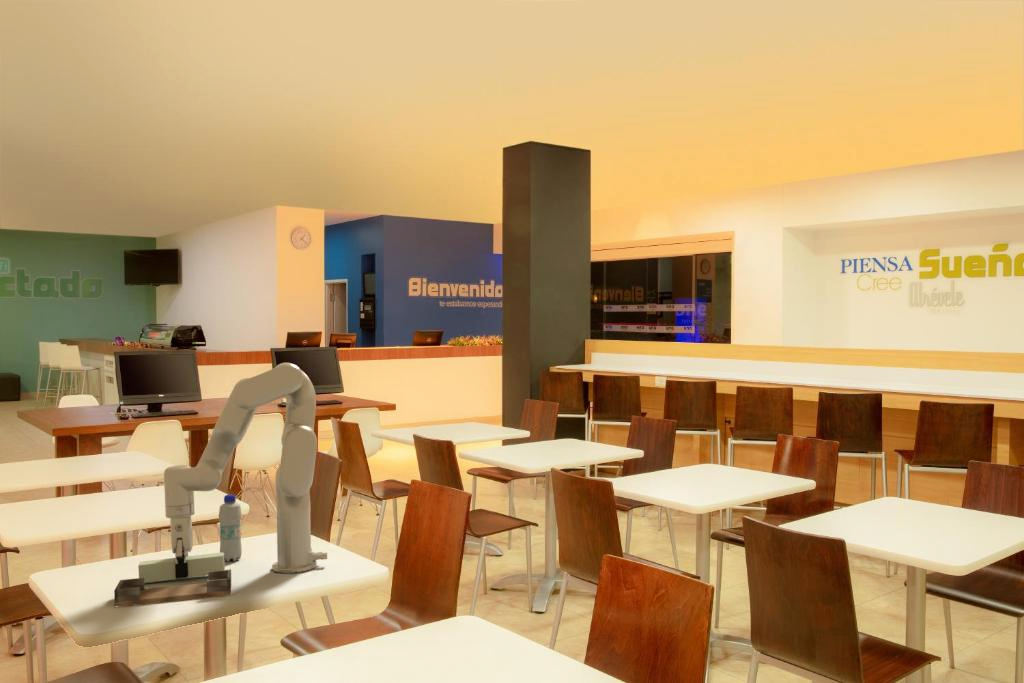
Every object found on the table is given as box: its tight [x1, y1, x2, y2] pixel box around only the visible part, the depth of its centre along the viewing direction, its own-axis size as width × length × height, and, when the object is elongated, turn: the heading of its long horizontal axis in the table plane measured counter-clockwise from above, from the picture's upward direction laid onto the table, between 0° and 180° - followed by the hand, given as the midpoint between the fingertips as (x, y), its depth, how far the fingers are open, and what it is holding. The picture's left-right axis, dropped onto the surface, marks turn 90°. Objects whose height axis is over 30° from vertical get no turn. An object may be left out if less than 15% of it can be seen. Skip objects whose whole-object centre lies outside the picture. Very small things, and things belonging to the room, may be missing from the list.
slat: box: [138, 552, 226, 584], centre depth 229 cm, size 22×4×5 cm, turn 108°
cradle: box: [113, 568, 232, 607], centre depth 214 cm, size 28×10×4 cm, turn 108°
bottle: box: [218, 493, 243, 563], centre depth 248 cm, size 7×7×20 cm
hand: (182, 574), depth 229 cm, fingers closed on slat, 4 cm apart
